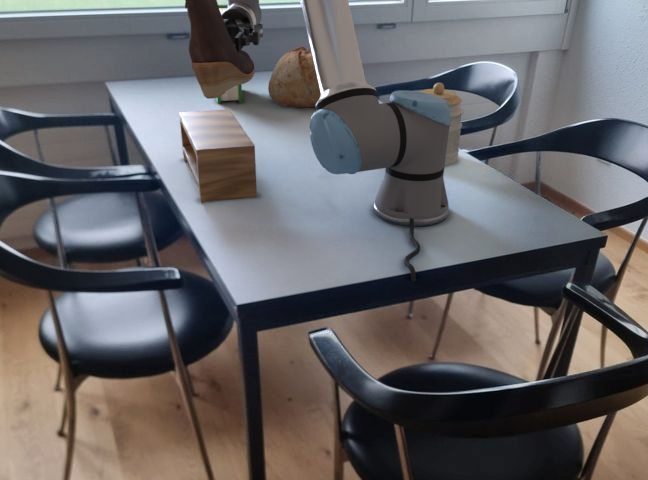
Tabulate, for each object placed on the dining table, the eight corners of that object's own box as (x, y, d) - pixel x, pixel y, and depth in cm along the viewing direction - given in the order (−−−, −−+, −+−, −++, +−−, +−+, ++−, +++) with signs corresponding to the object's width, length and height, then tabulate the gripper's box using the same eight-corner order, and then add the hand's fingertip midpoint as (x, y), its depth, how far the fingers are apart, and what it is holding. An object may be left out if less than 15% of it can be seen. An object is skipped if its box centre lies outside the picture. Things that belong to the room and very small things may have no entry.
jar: (421, 170, 164) (429, 91, 153) (395, 153, 173) (401, 78, 163) (467, 163, 168) (478, 87, 158) (439, 147, 178) (448, 74, 167)
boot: (264, 69, 153) (250, -35, 141) (231, 100, 134) (211, -18, 122) (227, 71, 155) (210, -32, 143) (189, 102, 136) (166, -14, 124)
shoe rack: (256, 196, 148) (254, 145, 142) (201, 202, 145) (196, 150, 139) (232, 155, 170) (229, 109, 164) (183, 159, 167) (178, 112, 161)
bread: (357, 93, 221) (359, 41, 212) (352, 113, 202) (354, 58, 193) (275, 89, 222) (274, 38, 214) (263, 109, 204) (261, 54, 195)
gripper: (279, 43, 160) (267, 66, 142) (196, 40, 161) (173, 62, 142) (279, 7, 156) (266, 25, 137) (193, 4, 157) (169, 22, 138)
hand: (219, 44), depth 140 cm, fingers closed on boot, 6 cm apart
